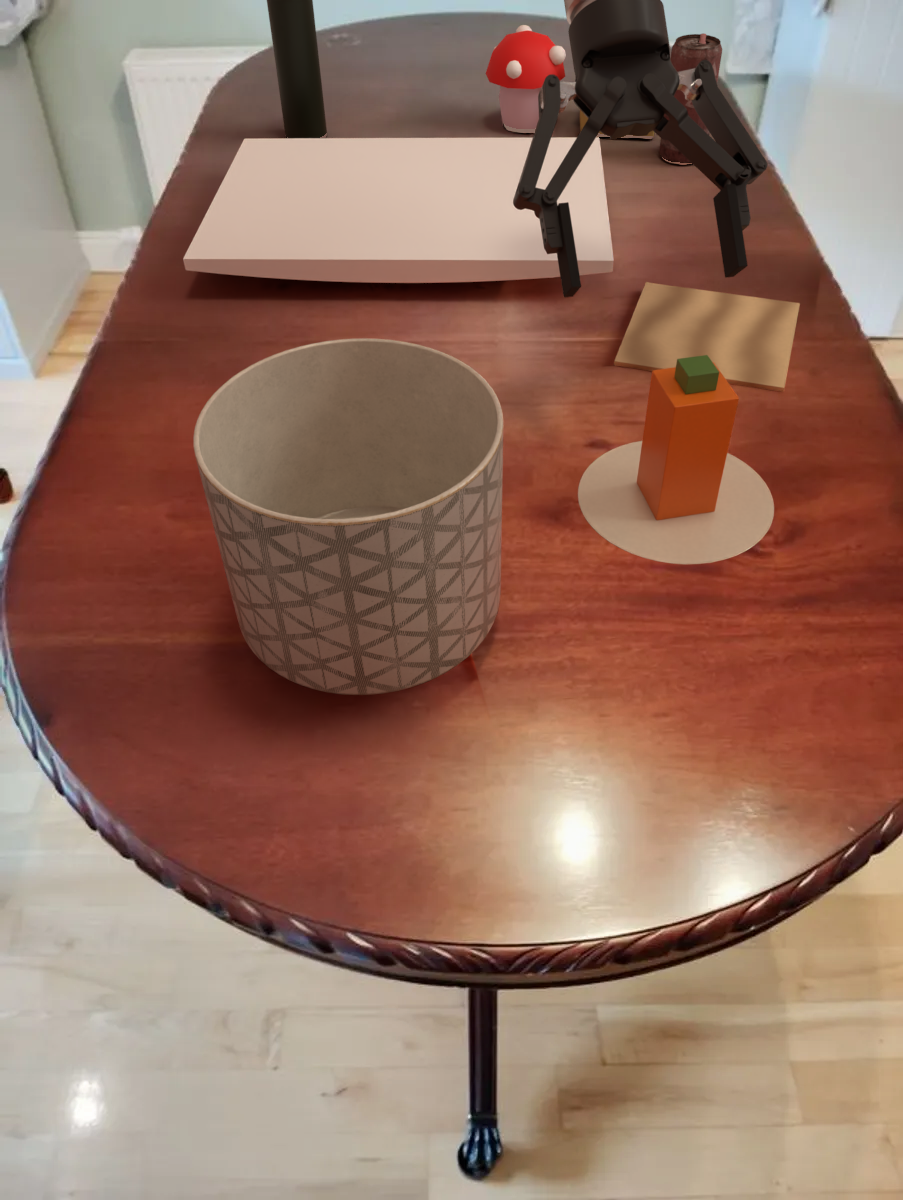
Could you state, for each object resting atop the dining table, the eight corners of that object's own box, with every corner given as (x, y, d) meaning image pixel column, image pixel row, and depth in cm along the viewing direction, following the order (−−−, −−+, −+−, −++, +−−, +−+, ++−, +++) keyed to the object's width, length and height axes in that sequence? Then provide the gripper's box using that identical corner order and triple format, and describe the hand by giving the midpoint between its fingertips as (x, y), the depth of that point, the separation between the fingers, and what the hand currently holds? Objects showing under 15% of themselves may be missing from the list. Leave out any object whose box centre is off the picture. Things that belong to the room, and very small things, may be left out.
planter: (522, 554, 79) (530, 354, 66) (466, 746, 66) (462, 545, 53) (297, 520, 83) (262, 323, 70) (202, 695, 70) (137, 495, 57)
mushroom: (558, 142, 136) (564, 45, 127) (479, 138, 137) (479, 42, 129) (566, 112, 143) (571, 19, 134) (490, 109, 145) (491, 17, 136)
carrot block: (692, 474, 85) (717, 343, 75) (714, 511, 81) (743, 379, 72) (636, 482, 84) (654, 351, 75) (656, 521, 80) (677, 388, 71)
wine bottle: (316, 126, 142) (286, -132, 120) (334, 139, 138) (306, -124, 117) (279, 135, 140) (242, -126, 118) (296, 149, 136) (261, -117, 115)
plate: (782, 462, 86) (783, 457, 86) (761, 587, 76) (762, 582, 75) (600, 430, 90) (601, 425, 90) (556, 545, 80) (556, 540, 79)
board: (596, 174, 128) (599, 137, 125) (609, 302, 106) (613, 260, 102) (250, 175, 131) (244, 138, 127) (192, 299, 108) (183, 258, 105)
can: (706, 148, 133) (724, 32, 123) (704, 168, 129) (722, 49, 119) (660, 145, 134) (675, 30, 124) (656, 164, 130) (670, 47, 120)
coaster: (797, 311, 104) (800, 303, 103) (782, 396, 93) (784, 387, 92) (644, 290, 107) (645, 281, 107) (613, 369, 97) (614, 361, 96)
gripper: (744, 27, 84) (781, 278, 84) (453, 53, 81) (493, 314, 81) (785, -29, 76) (825, 247, 77) (466, -2, 73) (510, 285, 74)
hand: (655, 282), depth 79 cm, fingers open, 13 cm apart
